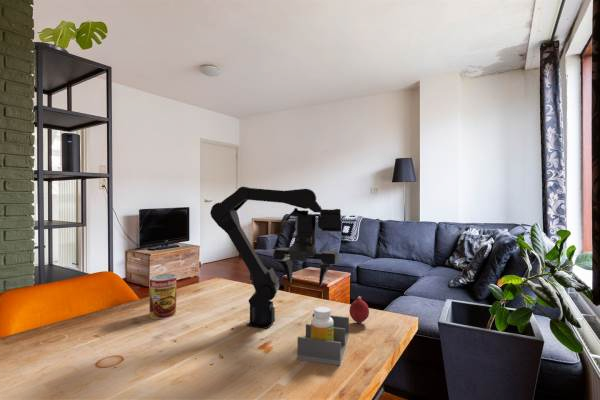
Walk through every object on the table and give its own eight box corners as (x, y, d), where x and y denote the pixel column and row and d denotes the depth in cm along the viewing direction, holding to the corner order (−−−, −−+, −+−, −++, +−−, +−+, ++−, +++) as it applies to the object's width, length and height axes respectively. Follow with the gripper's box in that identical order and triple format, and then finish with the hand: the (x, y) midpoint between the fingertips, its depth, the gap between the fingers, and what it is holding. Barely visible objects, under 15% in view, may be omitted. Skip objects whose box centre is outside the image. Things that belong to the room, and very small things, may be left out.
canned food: (153, 321, 95) (153, 281, 95) (146, 313, 101) (146, 276, 101) (179, 315, 100) (179, 277, 100) (172, 308, 106) (172, 272, 106)
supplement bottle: (330, 356, 72) (330, 314, 72) (308, 352, 74) (308, 311, 74) (335, 346, 77) (335, 306, 77) (314, 342, 79) (314, 304, 79)
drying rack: (297, 359, 73) (297, 337, 73) (313, 331, 88) (313, 313, 88) (340, 365, 70) (340, 343, 70) (348, 335, 85) (348, 317, 85)
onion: (369, 328, 90) (369, 300, 90) (348, 326, 91) (349, 299, 91) (368, 320, 96) (369, 294, 96) (349, 319, 97) (349, 293, 97)
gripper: (265, 232, 87) (264, 288, 88) (331, 236, 82) (330, 296, 82) (280, 229, 98) (279, 279, 98) (339, 232, 92) (338, 285, 92)
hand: (305, 284), depth 92 cm, fingers open, 9 cm apart
